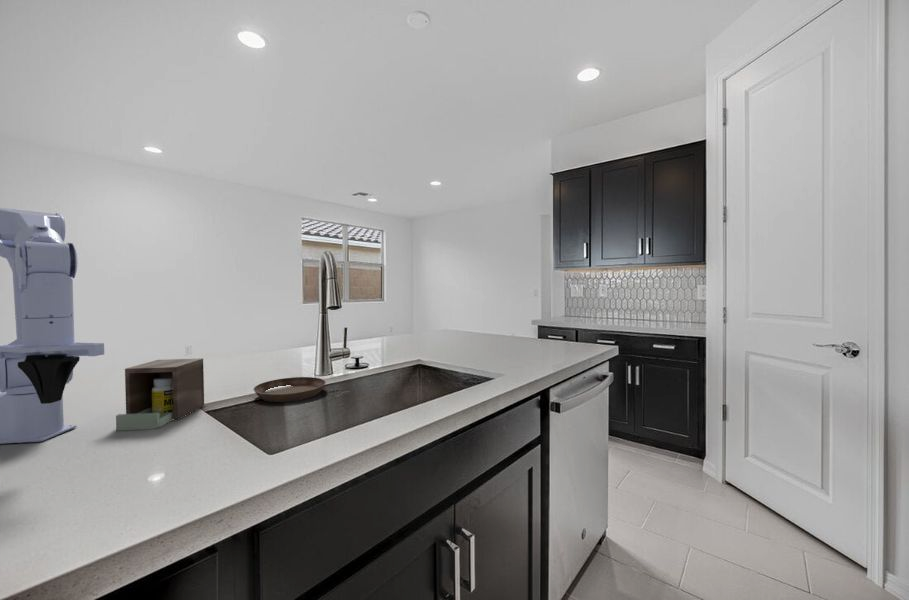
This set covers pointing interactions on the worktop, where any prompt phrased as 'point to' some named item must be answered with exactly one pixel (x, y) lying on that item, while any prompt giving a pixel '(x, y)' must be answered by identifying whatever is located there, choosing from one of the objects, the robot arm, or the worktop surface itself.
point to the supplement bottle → (162, 395)
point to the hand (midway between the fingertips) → (51, 401)
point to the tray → (142, 420)
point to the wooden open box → (184, 385)
